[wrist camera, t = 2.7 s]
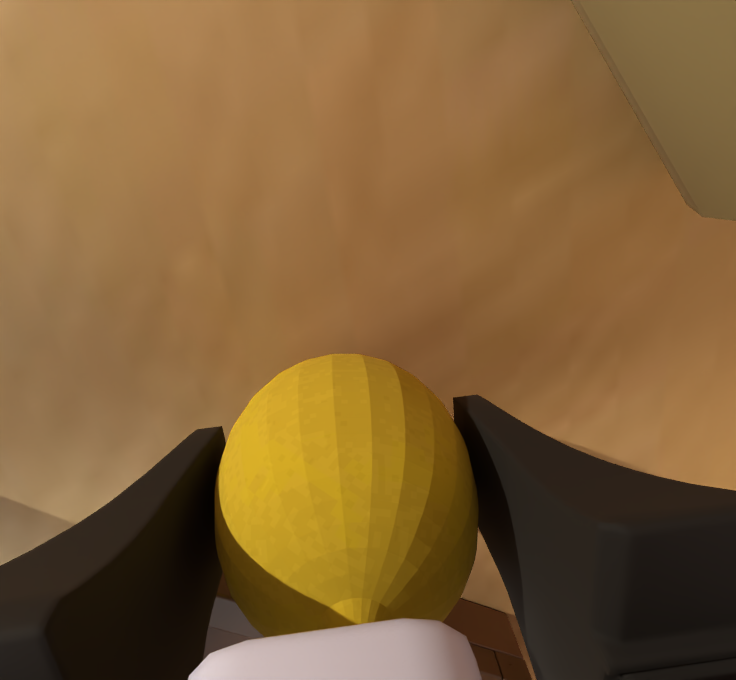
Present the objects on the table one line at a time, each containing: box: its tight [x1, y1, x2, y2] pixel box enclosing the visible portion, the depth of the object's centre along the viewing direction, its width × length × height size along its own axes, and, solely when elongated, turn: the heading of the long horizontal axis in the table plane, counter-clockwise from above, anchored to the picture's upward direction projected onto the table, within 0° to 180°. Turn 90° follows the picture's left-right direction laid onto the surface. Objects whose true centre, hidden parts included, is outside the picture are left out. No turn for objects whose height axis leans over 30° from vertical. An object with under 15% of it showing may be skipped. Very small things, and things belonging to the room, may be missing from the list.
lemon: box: [215, 354, 479, 637], centre depth 12 cm, size 6×6×8 cm
